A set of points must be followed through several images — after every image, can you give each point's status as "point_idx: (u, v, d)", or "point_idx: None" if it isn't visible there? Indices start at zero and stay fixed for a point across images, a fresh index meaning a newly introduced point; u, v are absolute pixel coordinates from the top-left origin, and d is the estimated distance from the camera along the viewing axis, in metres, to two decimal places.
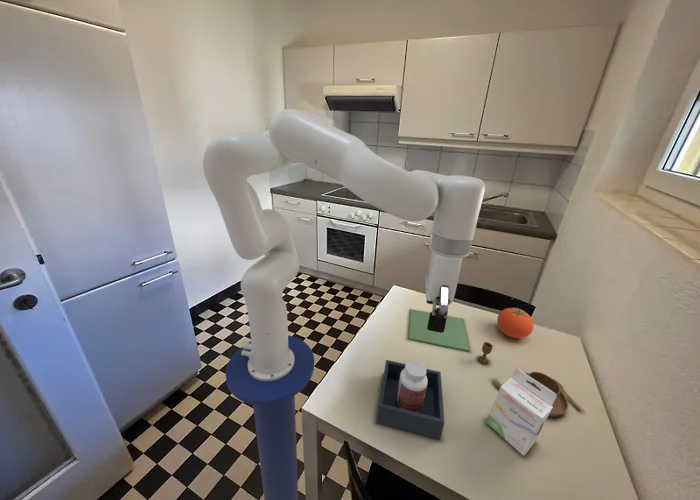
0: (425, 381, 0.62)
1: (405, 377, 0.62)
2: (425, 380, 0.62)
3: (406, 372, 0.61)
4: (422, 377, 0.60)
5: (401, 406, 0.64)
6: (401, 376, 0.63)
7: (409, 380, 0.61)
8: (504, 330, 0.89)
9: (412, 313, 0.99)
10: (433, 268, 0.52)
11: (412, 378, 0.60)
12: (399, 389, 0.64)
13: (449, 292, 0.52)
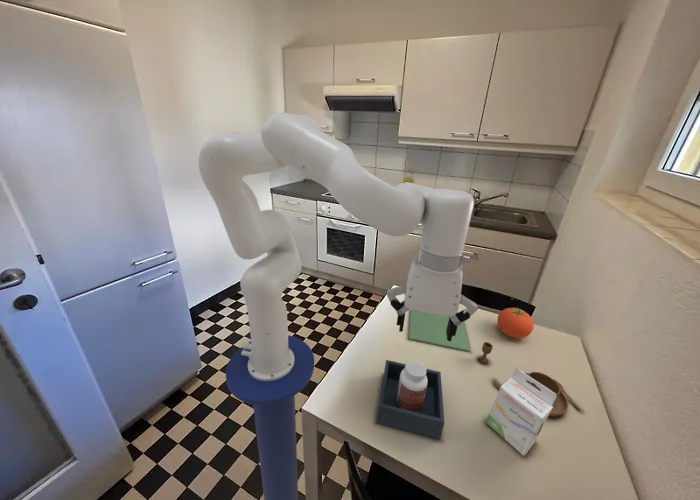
0: (425, 381, 0.62)
1: (405, 377, 0.62)
2: (425, 380, 0.62)
3: (406, 372, 0.61)
4: (422, 377, 0.60)
5: (401, 406, 0.64)
6: (401, 376, 0.63)
7: (409, 380, 0.61)
8: (504, 330, 0.89)
9: (412, 313, 0.99)
10: None
11: (412, 378, 0.60)
12: (399, 389, 0.64)
13: (405, 292, 0.54)
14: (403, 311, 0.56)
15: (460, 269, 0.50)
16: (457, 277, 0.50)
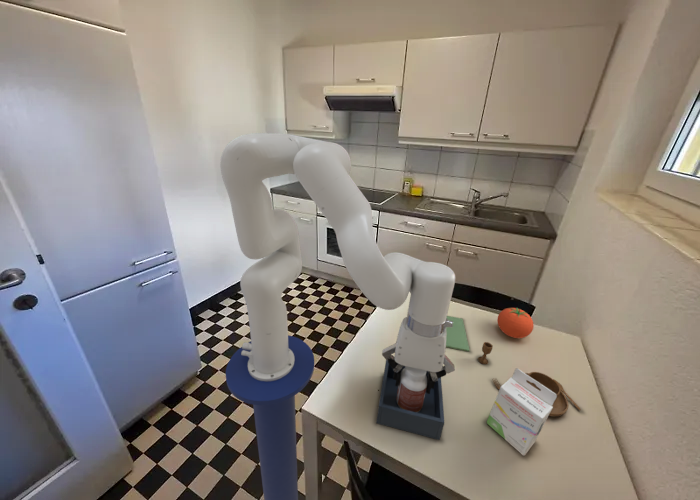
0: (425, 381, 0.62)
1: (405, 377, 0.62)
2: (425, 380, 0.62)
3: (406, 372, 0.61)
4: (422, 377, 0.60)
5: (401, 406, 0.64)
6: (401, 376, 0.63)
7: (409, 380, 0.61)
8: (504, 330, 0.89)
9: None
10: None
11: (412, 378, 0.60)
12: (399, 389, 0.64)
13: (395, 349, 0.60)
14: (399, 369, 0.61)
15: (444, 332, 0.56)
16: (441, 341, 0.55)
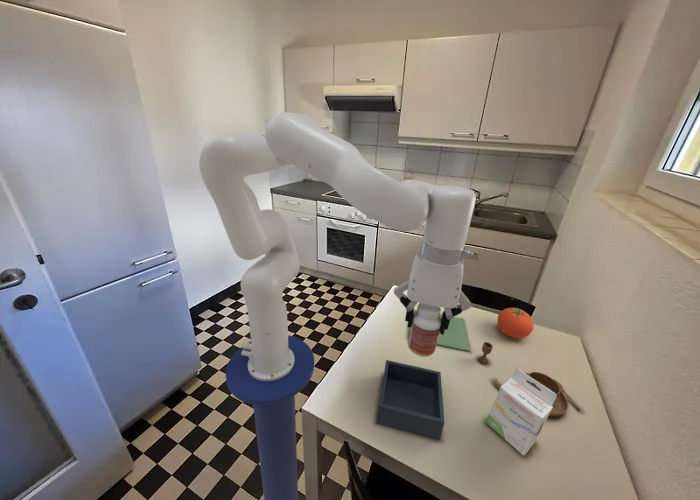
0: (439, 321, 0.58)
1: (418, 317, 0.59)
2: (438, 320, 0.58)
3: (419, 311, 0.58)
4: (436, 315, 0.57)
5: (413, 349, 0.61)
6: (413, 316, 0.60)
7: (422, 319, 0.58)
8: (504, 330, 0.89)
9: None
10: None
11: (425, 317, 0.57)
12: (411, 331, 0.60)
13: (408, 285, 0.57)
14: (412, 307, 0.58)
15: (461, 263, 0.53)
16: (458, 270, 0.52)
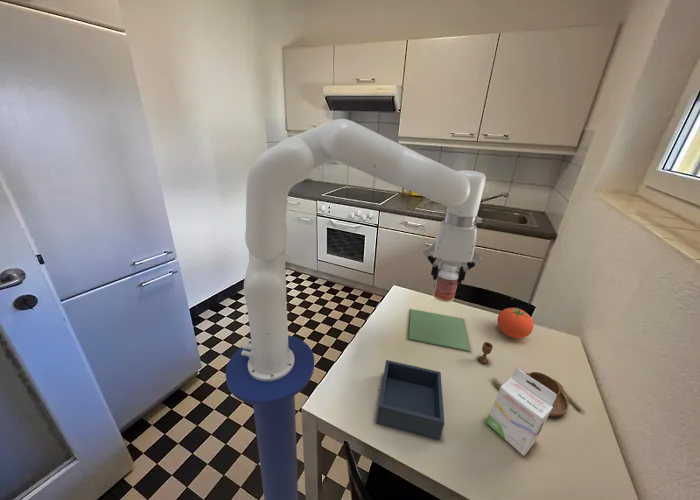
0: (457, 273, 0.78)
1: (441, 271, 0.78)
2: (457, 273, 0.78)
3: (442, 266, 0.77)
4: (456, 268, 0.76)
5: (437, 296, 0.80)
6: (438, 271, 0.79)
7: (445, 272, 0.77)
8: (504, 330, 0.89)
9: (412, 313, 0.99)
10: None
11: (447, 270, 0.76)
12: (436, 282, 0.80)
13: (434, 246, 0.76)
14: (437, 263, 0.77)
15: (475, 227, 0.72)
16: (472, 232, 0.71)
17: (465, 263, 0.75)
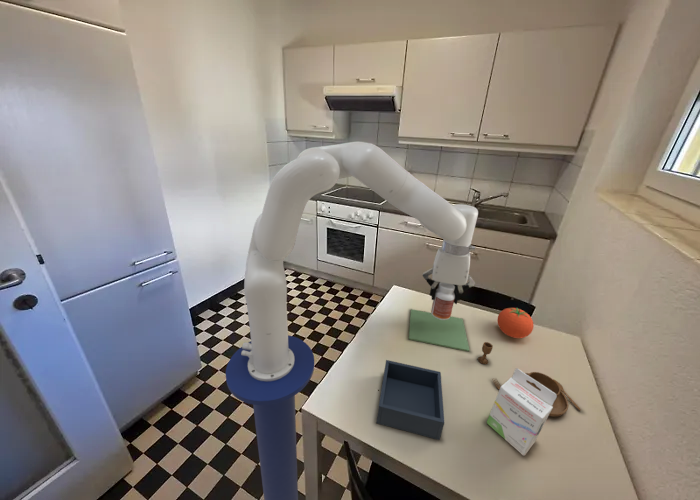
0: (454, 294, 0.86)
1: (439, 292, 0.86)
2: (453, 294, 0.86)
3: (440, 288, 0.85)
4: (452, 290, 0.84)
5: (435, 315, 0.88)
6: (436, 292, 0.87)
7: (442, 293, 0.85)
8: (504, 330, 0.89)
9: (412, 313, 0.99)
10: None
11: (444, 291, 0.84)
12: (434, 302, 0.88)
13: (433, 270, 0.84)
14: (435, 286, 0.85)
15: (469, 254, 0.80)
16: (467, 259, 0.79)
17: (460, 286, 0.83)
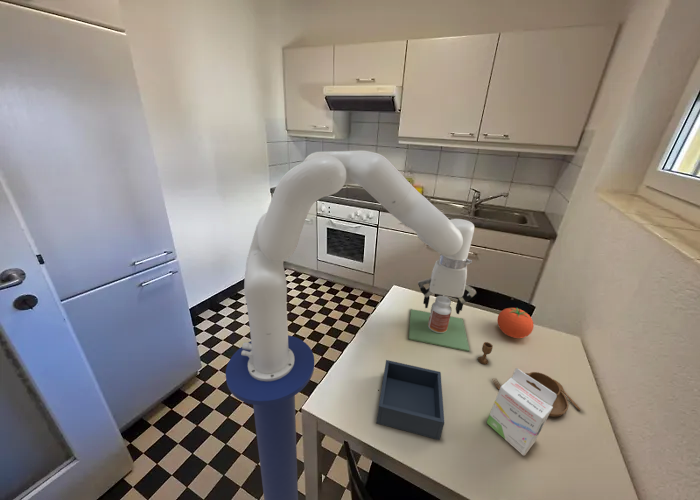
0: (450, 308, 0.88)
1: (436, 306, 0.88)
2: (449, 308, 0.88)
3: (437, 302, 0.87)
4: (448, 304, 0.86)
5: (432, 328, 0.90)
6: (433, 306, 0.89)
7: (439, 307, 0.87)
8: (504, 330, 0.89)
9: (412, 313, 0.99)
10: None
11: (441, 306, 0.86)
12: (431, 316, 0.90)
13: (430, 282, 0.86)
14: (428, 294, 0.87)
15: (465, 268, 0.82)
16: (463, 272, 0.81)
17: (460, 296, 0.85)
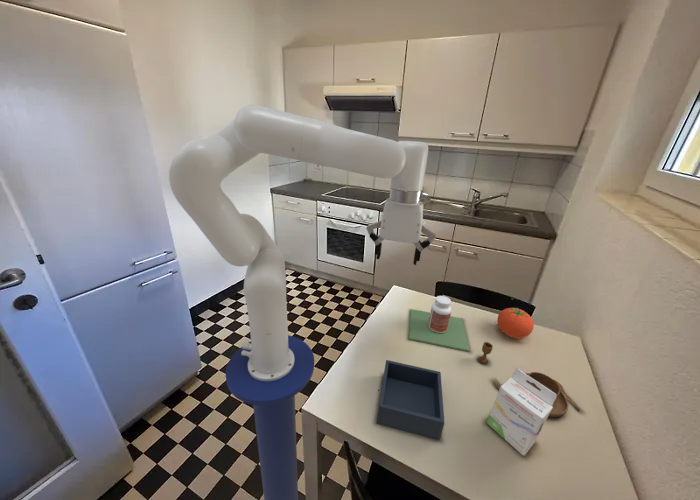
0: (450, 308, 0.88)
1: (436, 306, 0.88)
2: (449, 308, 0.88)
3: (437, 302, 0.87)
4: (448, 304, 0.86)
5: (432, 328, 0.90)
6: (433, 306, 0.89)
7: (439, 307, 0.87)
8: (504, 330, 0.89)
9: (412, 313, 0.99)
10: None
11: (441, 306, 0.86)
12: (431, 316, 0.90)
13: (380, 225, 0.70)
14: (379, 241, 0.71)
15: (421, 204, 0.66)
16: (417, 209, 0.65)
17: (417, 242, 0.69)
